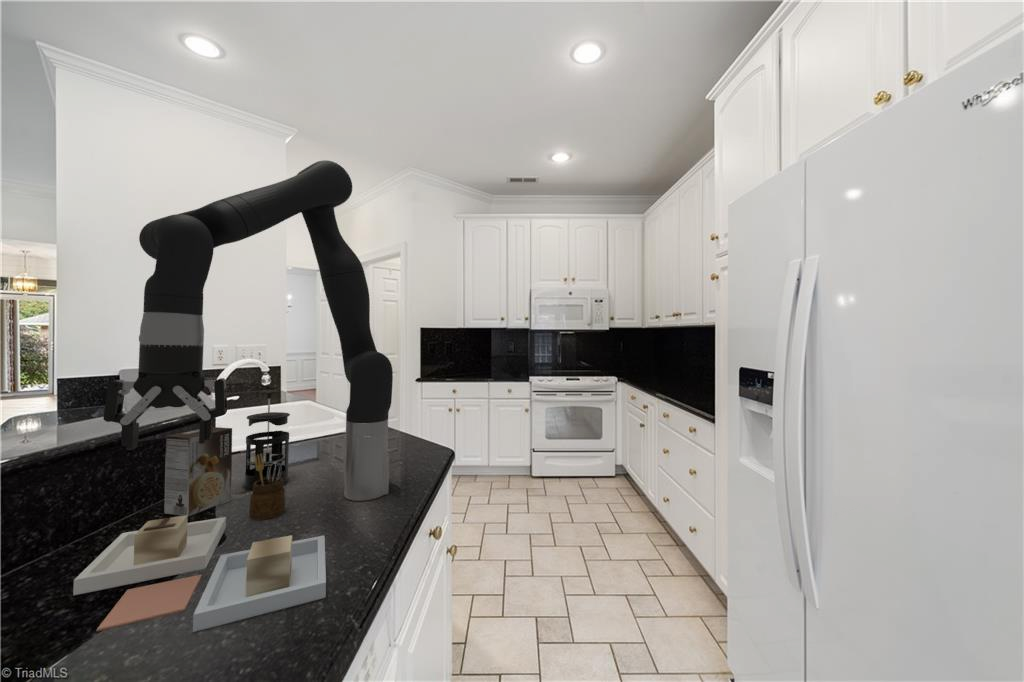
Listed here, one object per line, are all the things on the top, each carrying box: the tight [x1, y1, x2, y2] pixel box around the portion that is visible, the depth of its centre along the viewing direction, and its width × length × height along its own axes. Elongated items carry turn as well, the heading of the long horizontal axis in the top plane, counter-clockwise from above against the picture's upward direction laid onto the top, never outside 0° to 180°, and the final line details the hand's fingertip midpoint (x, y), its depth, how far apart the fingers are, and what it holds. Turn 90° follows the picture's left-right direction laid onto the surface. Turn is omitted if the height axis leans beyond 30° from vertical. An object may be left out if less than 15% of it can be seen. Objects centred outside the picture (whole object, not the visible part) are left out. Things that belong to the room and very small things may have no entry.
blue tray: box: [192, 535, 327, 633], centre depth 54 cm, size 14×14×3 cm
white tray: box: [72, 516, 227, 596], centre depth 60 cm, size 14×14×3 cm
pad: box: [96, 574, 203, 632], centre depth 49 cm, size 8×8×1 cm
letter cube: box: [134, 515, 189, 565], centre depth 60 cm, size 5×5×5 cm
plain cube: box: [246, 535, 293, 597], centre depth 54 cm, size 5×5×5 cm
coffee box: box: [163, 426, 233, 517], centre depth 78 cm, size 9×6×16 cm
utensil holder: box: [249, 454, 286, 521], centre depth 75 cm, size 6×6×12 cm
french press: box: [242, 389, 291, 492], centre depth 93 cm, size 12×9×23 cm
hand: (168, 445), depth 59 cm, fingers open, 8 cm apart
